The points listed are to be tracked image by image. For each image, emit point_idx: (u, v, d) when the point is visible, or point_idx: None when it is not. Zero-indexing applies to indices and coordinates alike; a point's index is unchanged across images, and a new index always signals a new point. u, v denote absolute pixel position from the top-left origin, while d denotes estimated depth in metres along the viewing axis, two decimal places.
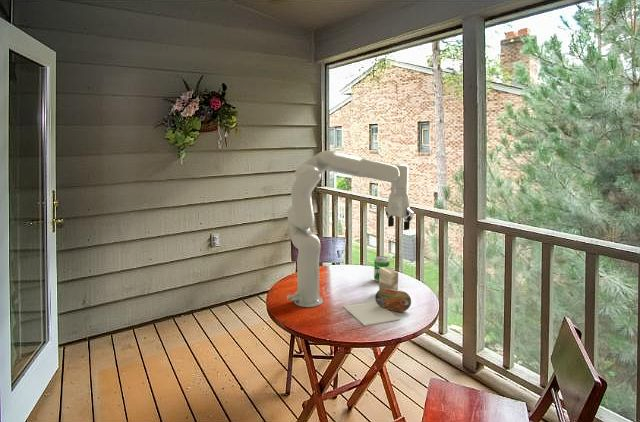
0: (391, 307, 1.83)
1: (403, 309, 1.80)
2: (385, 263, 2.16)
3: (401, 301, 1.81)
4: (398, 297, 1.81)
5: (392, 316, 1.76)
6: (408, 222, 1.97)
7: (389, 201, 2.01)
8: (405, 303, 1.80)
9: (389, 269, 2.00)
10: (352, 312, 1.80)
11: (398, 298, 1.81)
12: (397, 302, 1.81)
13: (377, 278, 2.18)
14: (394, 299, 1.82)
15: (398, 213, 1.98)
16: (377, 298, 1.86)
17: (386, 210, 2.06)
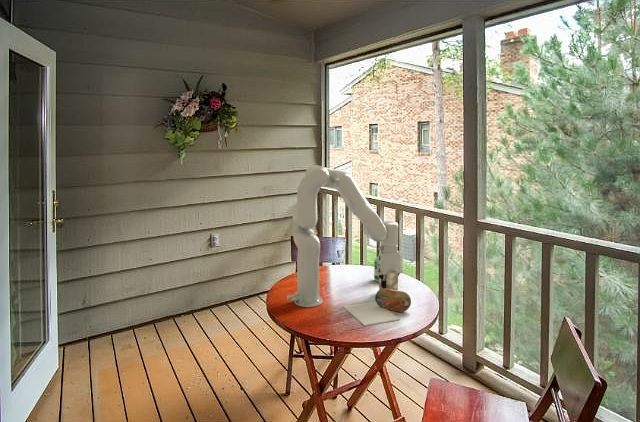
0: (391, 307, 1.83)
1: (403, 309, 1.80)
2: None
3: (401, 301, 1.81)
4: (398, 297, 1.81)
5: (392, 316, 1.76)
6: None
7: (384, 261, 1.94)
8: (405, 303, 1.80)
9: None
10: (352, 312, 1.80)
11: (398, 298, 1.81)
12: (397, 302, 1.81)
13: (377, 278, 2.18)
14: (394, 299, 1.82)
15: (396, 270, 1.97)
16: (377, 298, 1.86)
17: (378, 274, 1.97)
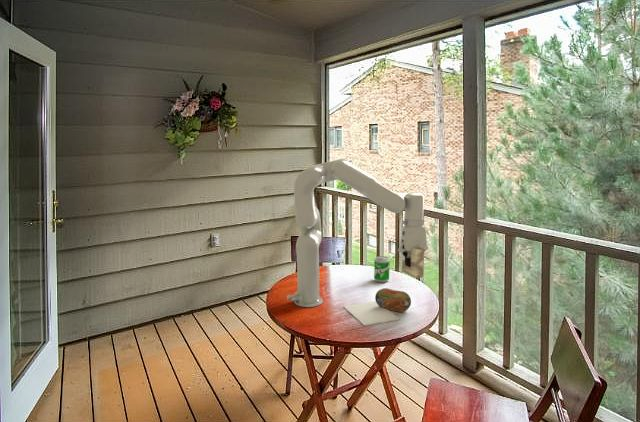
0: (391, 307, 1.83)
1: (403, 309, 1.80)
2: (384, 263, 2.16)
3: (401, 301, 1.81)
4: (398, 297, 1.81)
5: (392, 316, 1.76)
6: None
7: (409, 236, 1.78)
8: (405, 303, 1.80)
9: None
10: (352, 312, 1.80)
11: (398, 298, 1.81)
12: (397, 302, 1.81)
13: (377, 278, 2.18)
14: (394, 299, 1.82)
15: (421, 246, 1.81)
16: (377, 298, 1.86)
17: (402, 251, 1.80)
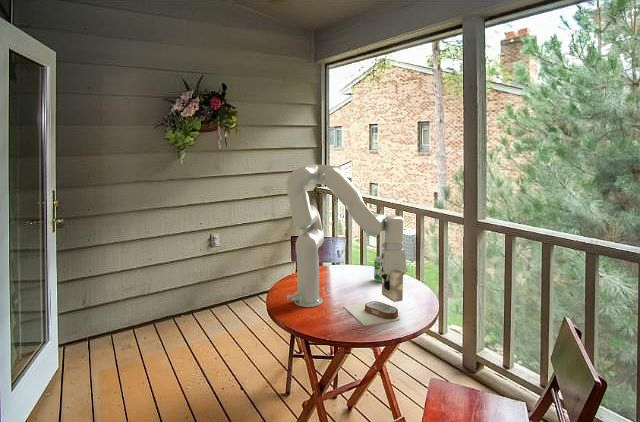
0: None
1: None
2: None
3: None
4: None
5: None
6: None
7: (388, 259, 1.76)
8: None
9: None
10: (352, 312, 1.80)
11: None
12: None
13: (377, 278, 2.18)
14: None
15: (400, 269, 1.79)
16: None
17: (381, 274, 1.78)
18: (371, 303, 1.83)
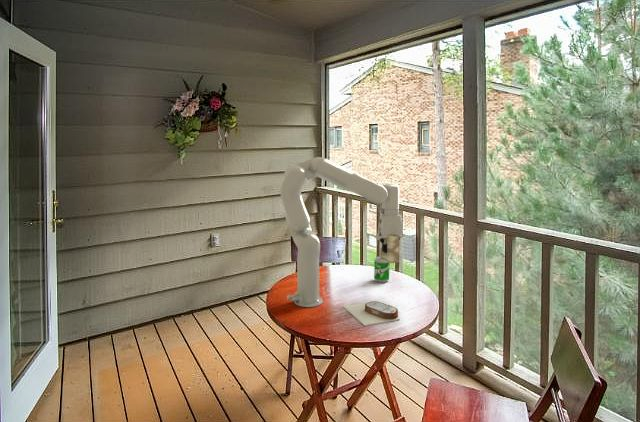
0: None
1: None
2: (384, 263, 2.16)
3: None
4: None
5: None
6: None
7: (385, 224, 1.92)
8: None
9: None
10: (352, 312, 1.80)
11: None
12: None
13: (377, 278, 2.18)
14: None
15: (397, 233, 1.94)
16: None
17: (379, 238, 1.94)
18: (371, 303, 1.83)
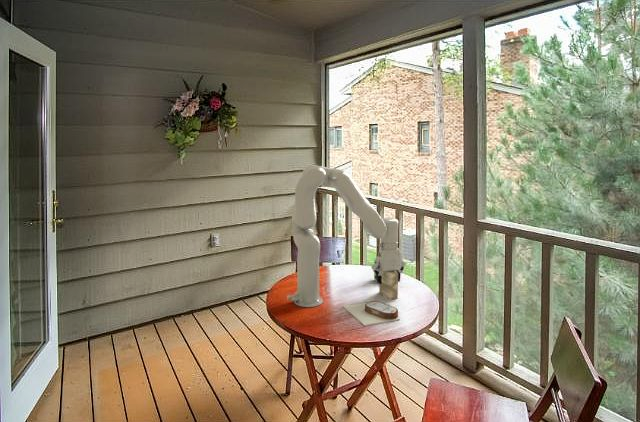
0: None
1: None
2: None
3: None
4: None
5: None
6: None
7: (385, 258, 1.94)
8: None
9: None
10: (352, 312, 1.80)
11: None
12: None
13: None
14: None
15: (396, 267, 1.97)
16: None
17: (375, 268, 1.96)
18: (371, 303, 1.83)
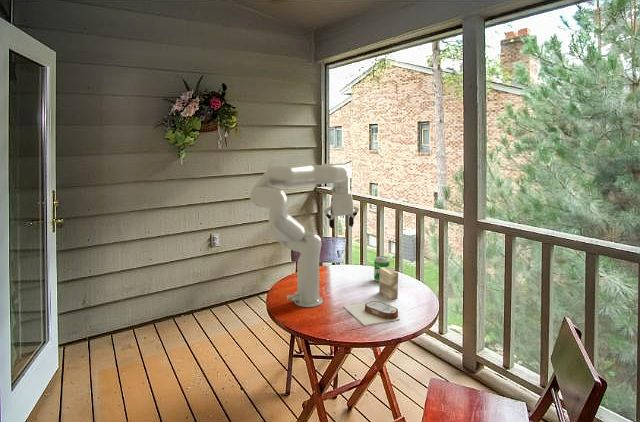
0: None
1: None
2: (384, 263, 2.16)
3: None
4: None
5: None
6: None
7: (336, 202, 1.98)
8: None
9: (389, 269, 1.99)
10: (352, 312, 1.80)
11: None
12: None
13: (377, 278, 2.18)
14: None
15: (348, 211, 2.01)
16: None
17: (327, 212, 1.99)
18: (371, 303, 1.83)
